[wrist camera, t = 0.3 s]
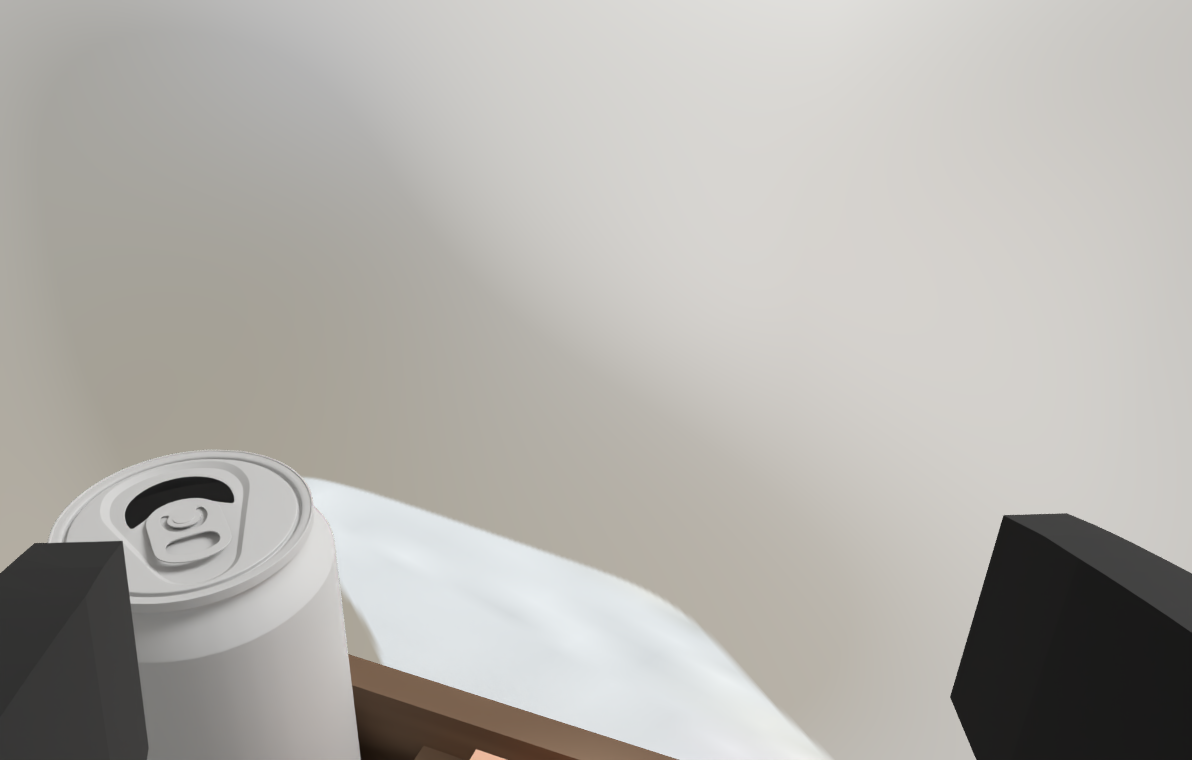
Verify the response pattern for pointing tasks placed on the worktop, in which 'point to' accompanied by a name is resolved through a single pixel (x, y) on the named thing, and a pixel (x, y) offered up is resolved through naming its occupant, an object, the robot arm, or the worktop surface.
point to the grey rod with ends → (484, 756)
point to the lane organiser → (462, 724)
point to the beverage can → (228, 606)
